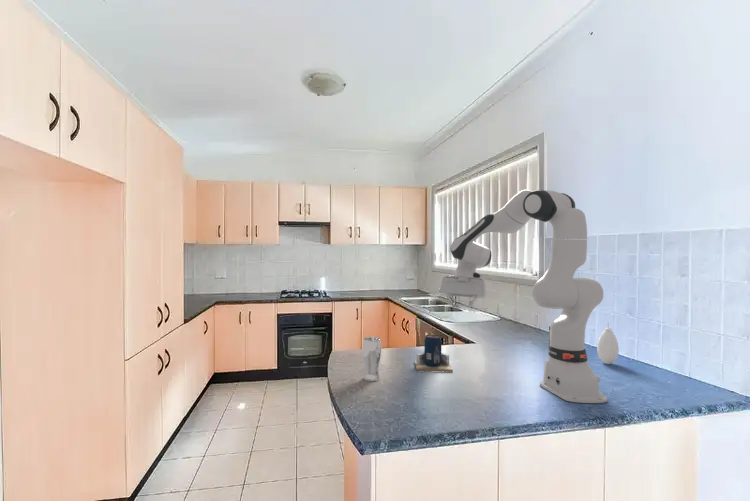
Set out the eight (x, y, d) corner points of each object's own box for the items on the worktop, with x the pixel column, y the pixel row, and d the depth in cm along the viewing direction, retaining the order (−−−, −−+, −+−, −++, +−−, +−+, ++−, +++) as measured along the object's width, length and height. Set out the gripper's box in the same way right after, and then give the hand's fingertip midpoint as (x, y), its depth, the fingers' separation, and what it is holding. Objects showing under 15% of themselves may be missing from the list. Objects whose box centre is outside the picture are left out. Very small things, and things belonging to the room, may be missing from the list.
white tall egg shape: (593, 362, 170) (593, 321, 170) (604, 360, 173) (605, 320, 173) (610, 367, 163) (611, 324, 163) (622, 365, 166) (622, 323, 166)
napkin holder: (452, 372, 154) (452, 359, 154) (417, 371, 154) (417, 359, 154) (447, 362, 167) (447, 351, 167) (414, 362, 167) (414, 350, 167)
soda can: (429, 361, 164) (429, 333, 164) (444, 365, 160) (444, 335, 160) (421, 365, 159) (421, 336, 159) (436, 368, 154) (436, 338, 154)
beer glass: (358, 379, 143) (359, 339, 143) (367, 374, 149) (368, 335, 149) (375, 383, 140) (376, 341, 140) (384, 377, 146) (384, 337, 146)
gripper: (441, 272, 180) (436, 299, 174) (486, 275, 171) (482, 304, 165) (444, 278, 185) (439, 305, 179) (488, 281, 176) (484, 309, 170)
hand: (460, 304), depth 172 cm, fingers open, 8 cm apart
